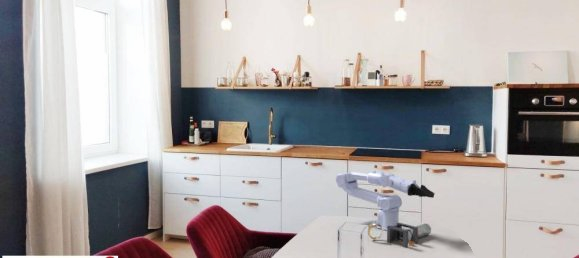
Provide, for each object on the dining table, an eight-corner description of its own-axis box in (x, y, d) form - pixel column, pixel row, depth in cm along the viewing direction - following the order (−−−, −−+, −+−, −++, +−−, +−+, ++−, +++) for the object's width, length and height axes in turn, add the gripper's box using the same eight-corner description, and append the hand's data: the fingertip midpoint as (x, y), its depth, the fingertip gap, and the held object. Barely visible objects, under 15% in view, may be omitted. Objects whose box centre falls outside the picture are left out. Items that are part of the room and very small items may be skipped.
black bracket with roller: (386, 242, 205) (387, 226, 205) (398, 238, 211) (399, 222, 210) (407, 247, 197) (407, 231, 197) (418, 243, 203) (419, 227, 203)
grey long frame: (410, 242, 204) (410, 231, 204) (400, 240, 208) (401, 228, 207) (430, 235, 215) (431, 224, 214) (421, 233, 219) (421, 222, 218)
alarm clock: (368, 241, 206) (368, 222, 206) (366, 238, 210) (367, 220, 209) (384, 241, 207) (384, 222, 206) (382, 238, 210) (383, 220, 209)
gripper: (397, 176, 214) (424, 185, 204) (413, 178, 224) (439, 187, 214) (393, 191, 214) (419, 200, 204) (409, 193, 224) (435, 202, 215)
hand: (429, 194), depth 209 cm, fingers open, 7 cm apart
